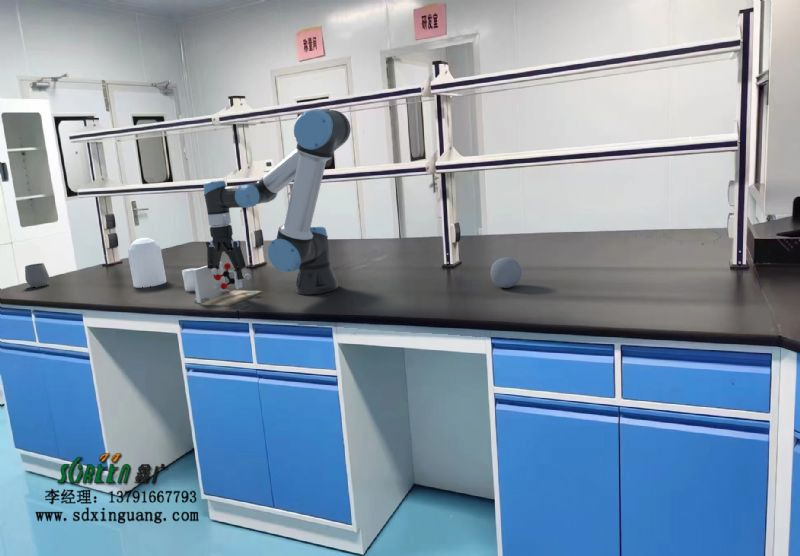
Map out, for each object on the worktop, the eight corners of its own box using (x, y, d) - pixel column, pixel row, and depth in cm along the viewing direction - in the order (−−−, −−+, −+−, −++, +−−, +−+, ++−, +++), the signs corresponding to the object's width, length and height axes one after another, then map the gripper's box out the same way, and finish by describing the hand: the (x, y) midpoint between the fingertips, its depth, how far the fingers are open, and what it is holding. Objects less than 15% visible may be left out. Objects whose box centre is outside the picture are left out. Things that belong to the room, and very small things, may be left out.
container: (155, 279, 273) (147, 234, 269) (173, 281, 265) (165, 235, 261) (127, 286, 262) (118, 240, 258) (145, 288, 255) (136, 241, 250)
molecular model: (234, 295, 228) (237, 269, 230) (250, 295, 224) (253, 268, 226) (201, 287, 215) (205, 259, 217) (218, 287, 211) (222, 258, 213)
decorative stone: (488, 291, 199) (486, 260, 197) (495, 283, 208) (493, 254, 206) (519, 291, 195) (517, 260, 193) (524, 283, 204) (523, 254, 202)
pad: (261, 292, 227) (261, 290, 227) (229, 305, 211) (228, 304, 211) (234, 291, 233) (233, 290, 232) (200, 304, 217) (200, 302, 217)
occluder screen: (230, 293, 231) (225, 261, 228) (204, 303, 219) (198, 270, 216) (220, 292, 233) (215, 261, 230) (193, 302, 221) (188, 270, 218)
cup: (42, 283, 289) (37, 262, 287) (55, 283, 285) (50, 262, 282) (22, 288, 280) (18, 267, 278) (35, 289, 276) (30, 267, 274)
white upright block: (204, 287, 245) (201, 268, 244) (193, 291, 240) (190, 271, 239) (192, 287, 248) (189, 268, 246) (181, 291, 243) (178, 271, 241)
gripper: (250, 223, 215) (259, 286, 220) (205, 224, 224) (214, 284, 229) (236, 226, 208) (246, 291, 213) (190, 227, 217) (200, 289, 222)
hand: (229, 287), depth 221 cm, fingers closed on molecular model, 8 cm apart
